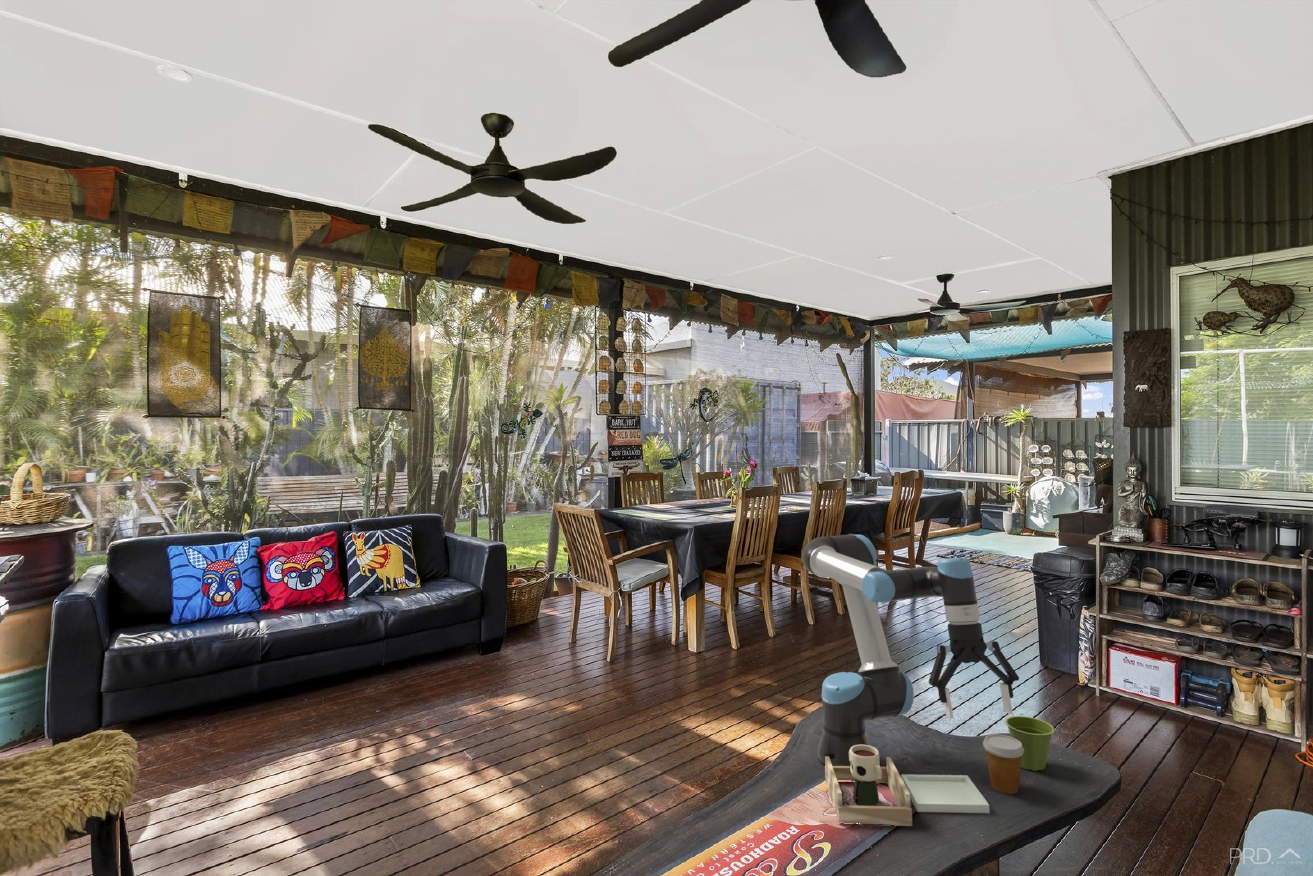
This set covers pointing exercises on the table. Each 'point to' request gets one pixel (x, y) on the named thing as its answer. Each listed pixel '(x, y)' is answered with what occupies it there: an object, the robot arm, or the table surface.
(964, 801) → the tray
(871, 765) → the character mug
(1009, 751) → the disposable coffee cup
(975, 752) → the table surface
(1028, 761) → the plant pot
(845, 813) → the wooden frame
